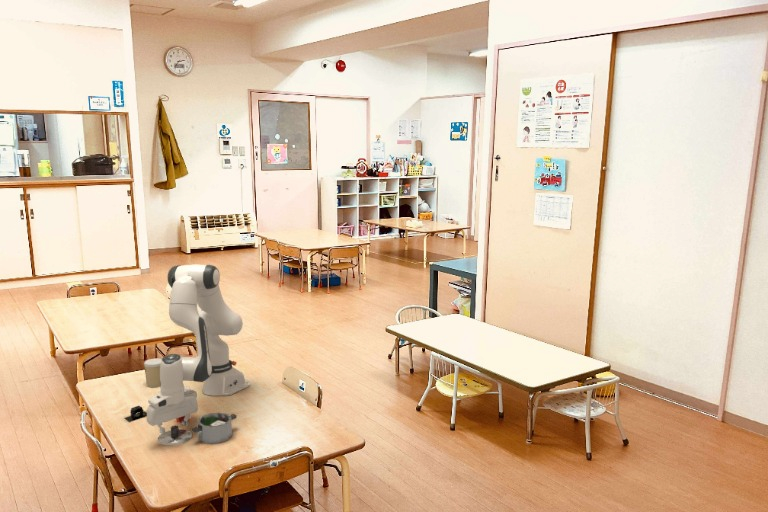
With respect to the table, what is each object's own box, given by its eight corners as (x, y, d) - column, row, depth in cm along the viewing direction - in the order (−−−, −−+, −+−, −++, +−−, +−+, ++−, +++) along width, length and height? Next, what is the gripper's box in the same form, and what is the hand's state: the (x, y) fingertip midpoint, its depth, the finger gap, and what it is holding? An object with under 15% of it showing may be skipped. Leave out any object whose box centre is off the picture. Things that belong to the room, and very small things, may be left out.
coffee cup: (151, 380, 294) (150, 357, 292) (169, 381, 293) (168, 358, 291) (141, 387, 285) (140, 364, 283) (159, 389, 284) (158, 365, 282)
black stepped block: (127, 425, 248) (126, 414, 247) (118, 419, 252) (118, 409, 251) (154, 415, 257) (154, 405, 256) (146, 410, 262) (146, 400, 261)
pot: (226, 423, 250) (226, 407, 249) (244, 433, 241) (244, 417, 240) (185, 438, 236) (184, 422, 235) (202, 449, 227) (201, 432, 226)
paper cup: (196, 418, 254) (195, 387, 252) (184, 425, 247) (183, 394, 245) (181, 415, 257) (179, 384, 254) (169, 422, 249) (167, 391, 247)
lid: (181, 428, 246) (181, 417, 245) (198, 438, 237) (197, 427, 236) (151, 438, 236) (151, 427, 235) (167, 449, 228) (167, 438, 227)
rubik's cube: (209, 436, 238) (209, 424, 238) (218, 431, 243) (218, 420, 242) (219, 439, 236) (219, 427, 236) (227, 434, 241) (227, 422, 240)
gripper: (192, 386, 243) (193, 418, 245) (144, 400, 228) (145, 434, 230) (200, 390, 239) (201, 423, 241) (151, 405, 224) (153, 439, 226)
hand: (173, 428), depth 235 cm, fingers open, 8 cm apart
